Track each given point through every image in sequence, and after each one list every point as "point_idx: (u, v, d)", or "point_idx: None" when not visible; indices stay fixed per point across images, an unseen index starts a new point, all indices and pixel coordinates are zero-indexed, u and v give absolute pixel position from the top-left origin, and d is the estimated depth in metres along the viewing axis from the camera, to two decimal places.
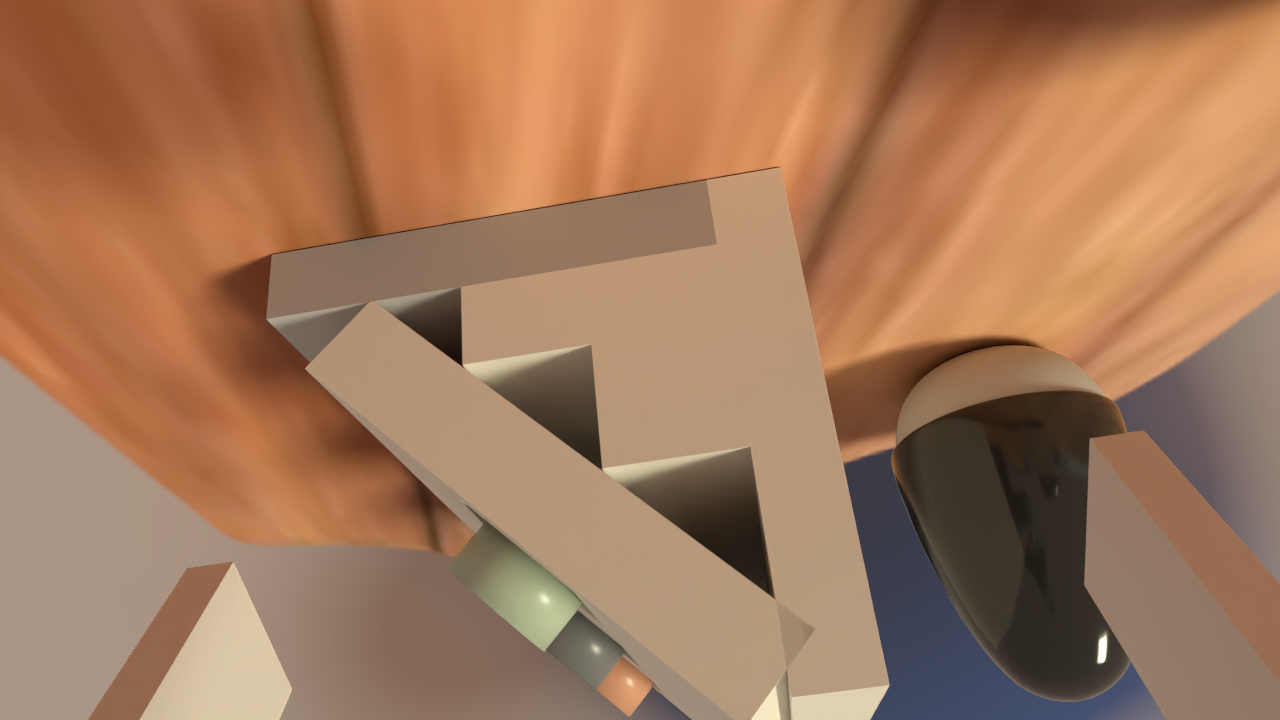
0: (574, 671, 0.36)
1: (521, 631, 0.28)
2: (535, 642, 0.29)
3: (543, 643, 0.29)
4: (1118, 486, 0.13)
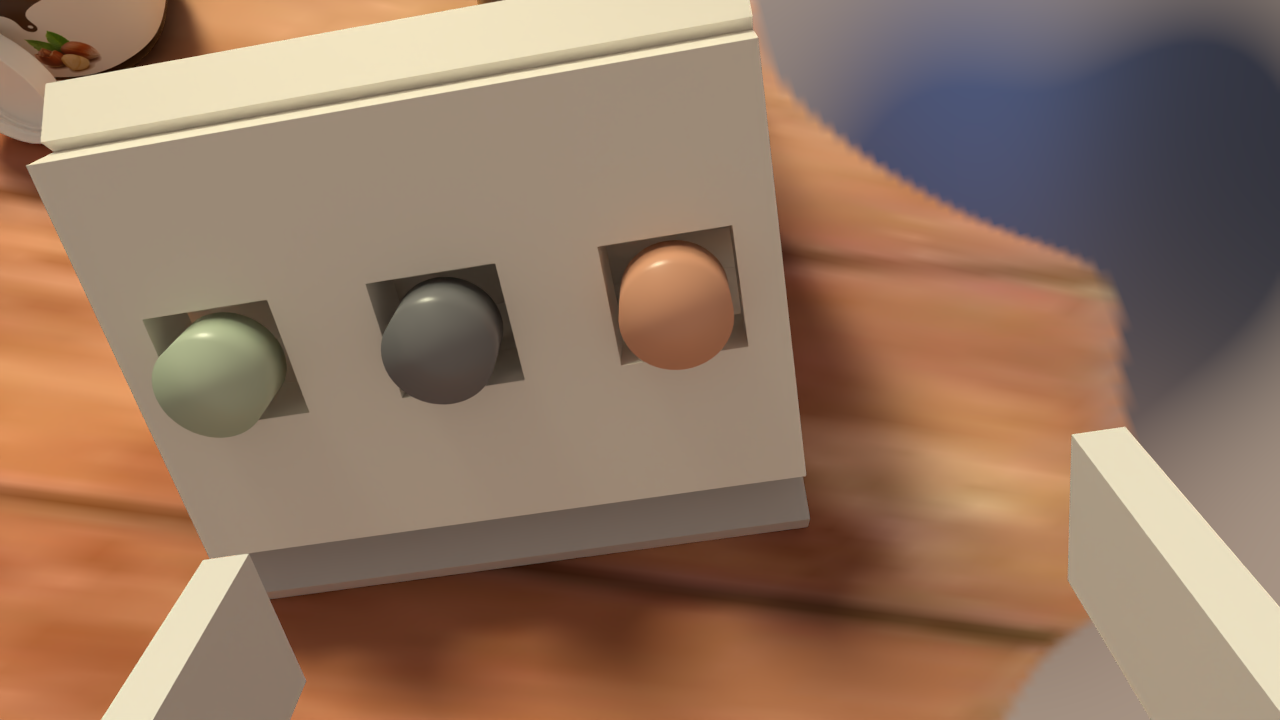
0: (387, 327, 0.34)
1: (159, 357, 0.34)
2: (172, 345, 0.34)
3: (183, 340, 0.34)
4: (1099, 481, 0.13)
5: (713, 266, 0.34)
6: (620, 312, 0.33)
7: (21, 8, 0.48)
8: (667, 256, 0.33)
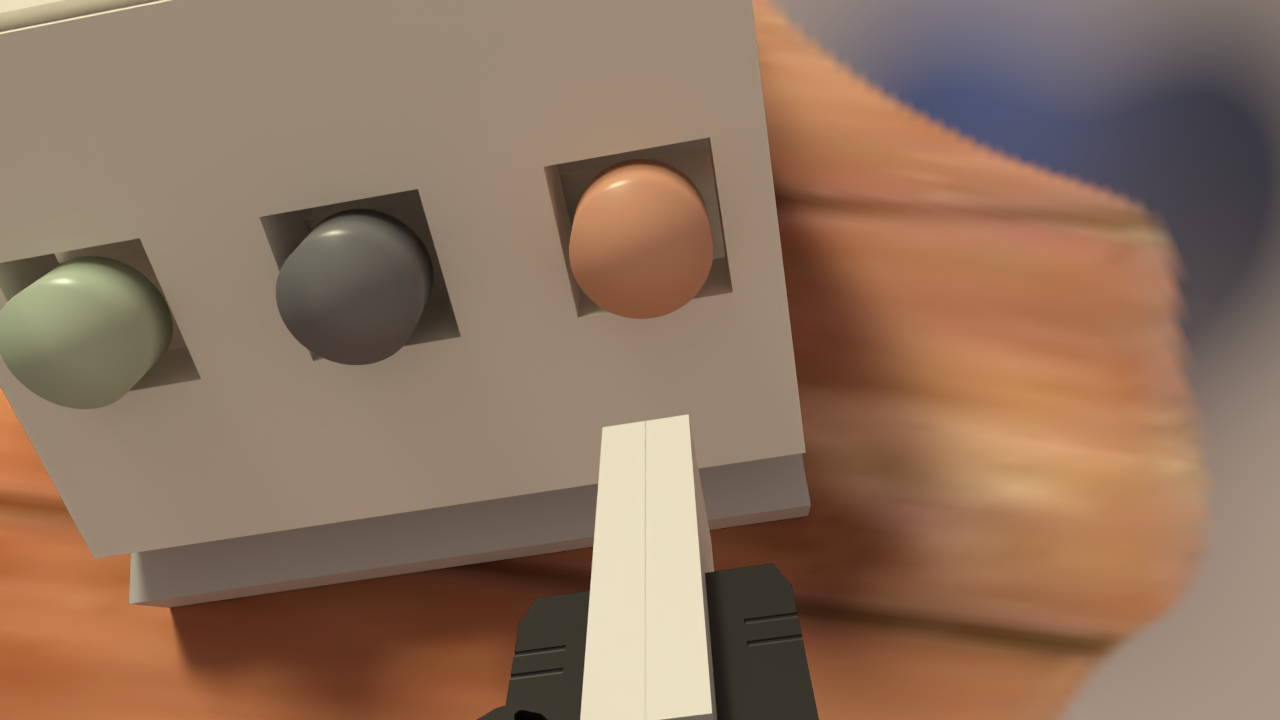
0: (283, 267, 0.27)
1: (3, 308, 0.28)
2: (18, 293, 0.28)
3: (31, 286, 0.28)
4: (646, 460, 0.16)
5: (687, 188, 0.27)
6: (571, 245, 0.27)
7: None
8: (629, 175, 0.27)
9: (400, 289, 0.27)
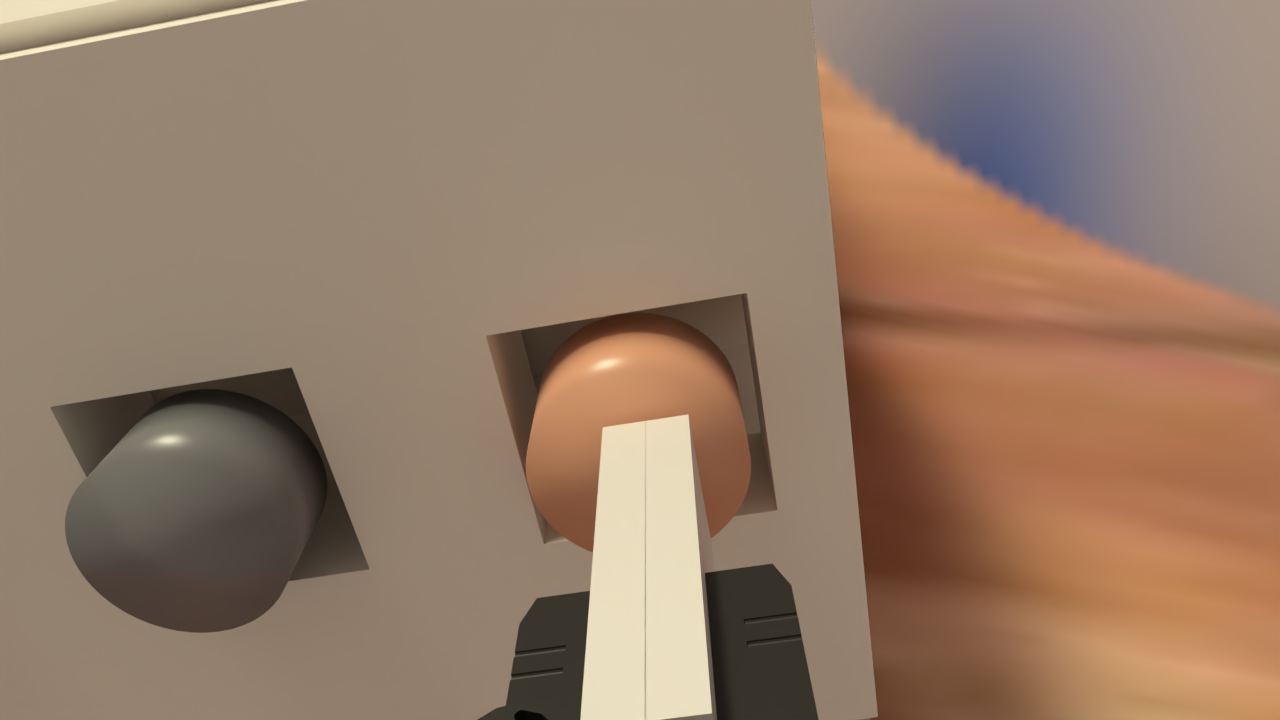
0: (73, 499, 0.17)
1: None
2: None
3: None
4: (646, 460, 0.16)
5: (710, 367, 0.17)
6: (529, 460, 0.17)
7: None
8: (619, 350, 0.17)
9: (260, 530, 0.17)
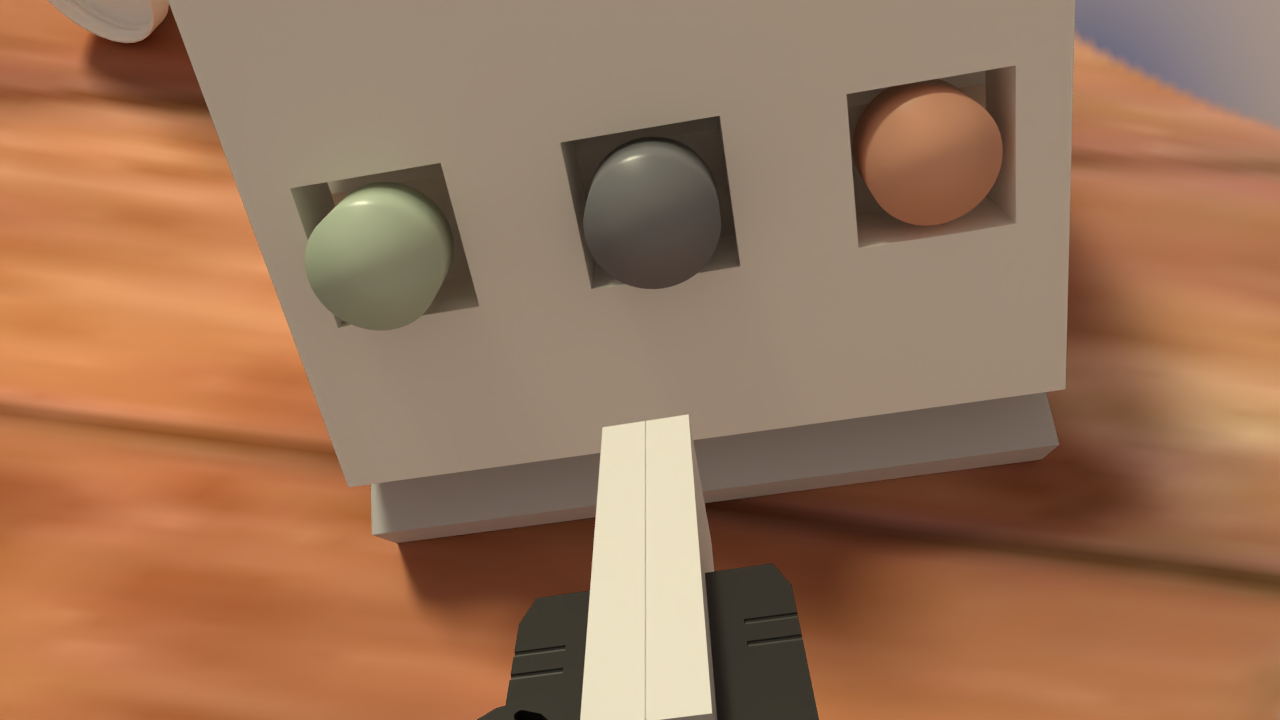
0: (594, 188, 0.28)
1: (315, 227, 0.28)
2: (332, 212, 0.28)
3: (345, 206, 0.28)
4: (646, 459, 0.16)
5: None
6: (869, 153, 0.29)
7: None
8: (925, 88, 0.29)
9: (706, 212, 0.28)
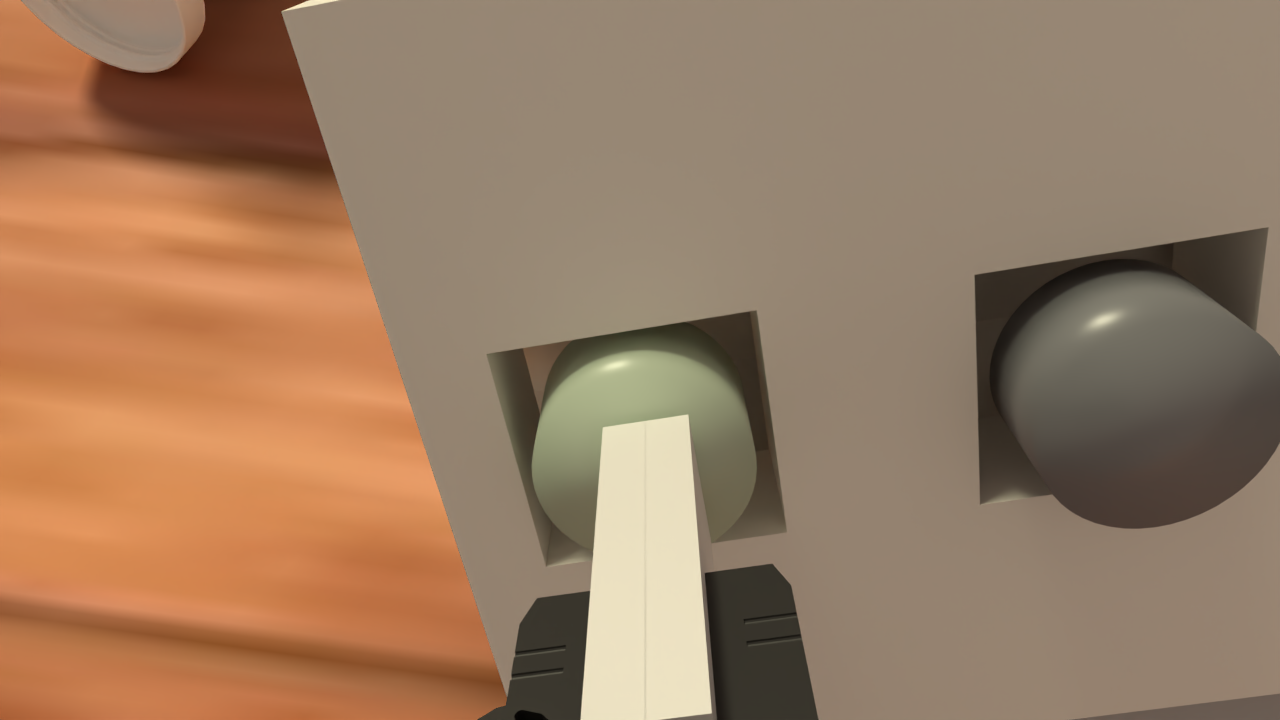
0: (1071, 368, 0.15)
1: (556, 407, 0.17)
2: (588, 384, 0.16)
3: (608, 372, 0.17)
4: (646, 460, 0.16)
5: None
6: None
7: None
8: None
9: (1266, 406, 0.15)
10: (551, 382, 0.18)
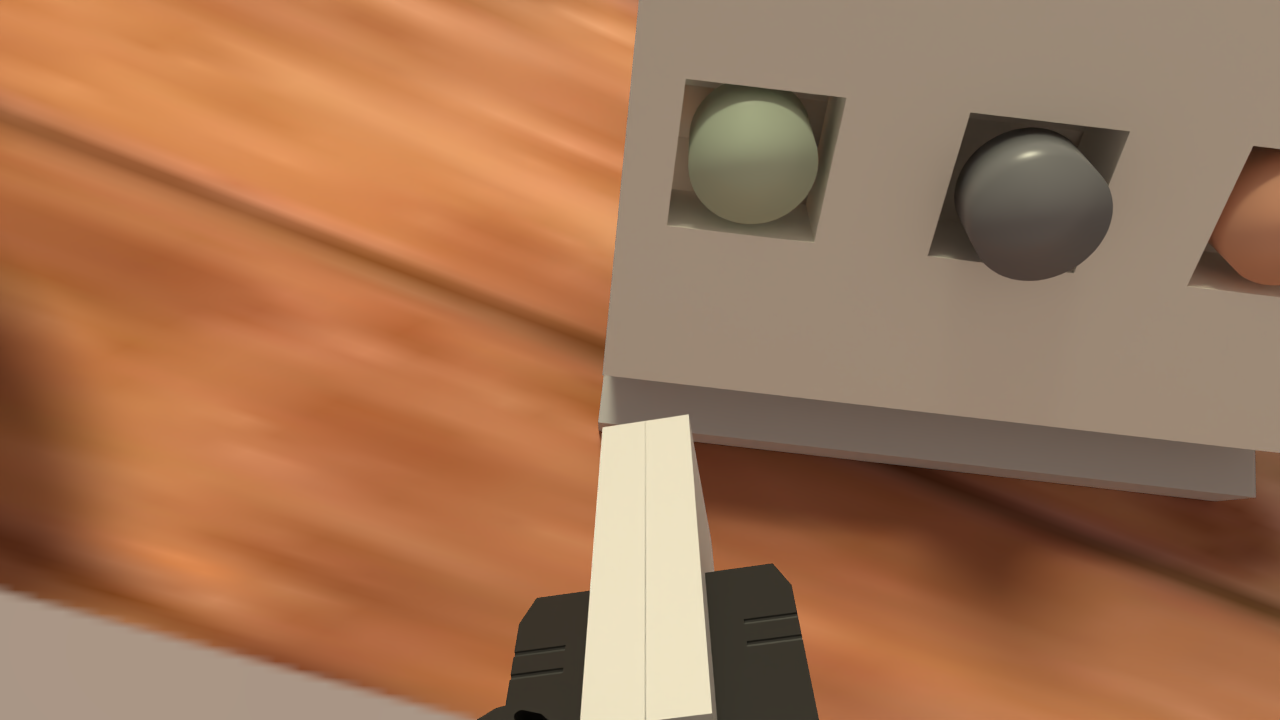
0: (1006, 172, 0.28)
1: (719, 111, 0.29)
2: (742, 102, 0.29)
3: (755, 99, 0.29)
4: (646, 460, 0.16)
5: None
6: (1244, 205, 0.30)
7: None
8: None
9: (1097, 223, 0.29)
10: (709, 102, 0.30)
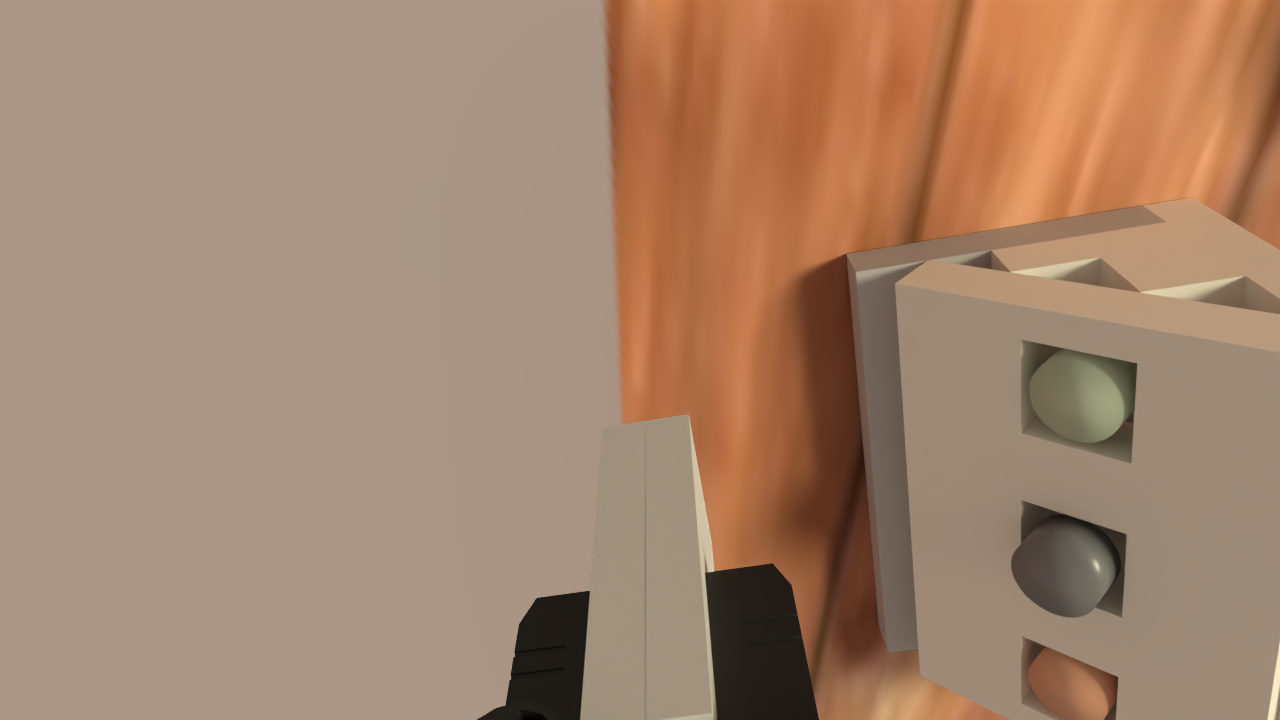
0: (1084, 564, 0.42)
1: (1114, 383, 0.40)
2: (1122, 398, 0.40)
3: (1125, 405, 0.40)
4: (646, 460, 0.16)
5: None
6: (1078, 669, 0.48)
7: None
8: (1114, 699, 0.48)
9: (1055, 608, 0.45)
10: (1122, 360, 0.40)
